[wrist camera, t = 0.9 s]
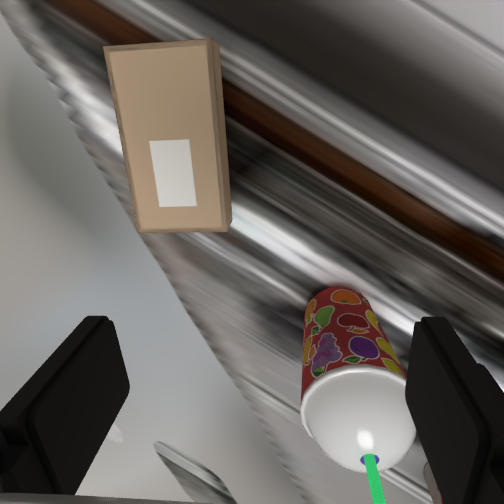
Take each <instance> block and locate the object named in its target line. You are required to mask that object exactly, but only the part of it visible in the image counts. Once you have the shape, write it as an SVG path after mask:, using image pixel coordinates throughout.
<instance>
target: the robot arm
mask: <svg viewBox="0 0 504 504" xmlns="http://www.w3.org/2000/svg"><path fill="white" fill-rule="evenodd" d="M129 389H130V384H129V379H128V376H127V372H126V368H125V364H124V360H123V357H122V353H121V350H120V345H119V341H118V338H117V334H116V330H115V326H114V323H113V321H111V320H109V319H108V317H107V316H87V317H86V318H84V319H83V321H82V322H81V323H80V324H79V325H78V326H77V327H76V328H75V329H74V330H73V332H72V333H71V334H70V335H69V336H68V337H67V338H66V339H65V340H64V342H63V343H62V344H61V345H60V346H59V347H58V348H57V349H56V350H55V352H54V353H53V354H52V355H51V356H50V357H49V358H48V359H47V360H46V361H45V363H44V364H43V365H42V366H41V367H40V368H39V369H38V370H37V371H36V372H35V373H34V375H33V376H32V377H31V378H30V379H29V380H28V381H27V382H26V383H25V384H24V386H23V387H22V388H21V389H20V390H19V391H18V392H17V393H16V394H15V395H14V397H13V398H12V399H11V400H10V401H9V402H8V403H7V404H6V405H5V407H4V408H3V409H2V410H1V411H0V504H213V503H197V502H181V501H165V500H164V501H163V500H148V499H131V498H113V497H96V496H79V495H75V493H76V492H77V490H78V488H79V486H80V484H81V482H82V480H83V479H84V477H85V475H86V473H87V471H88V469H89V467H90V465H91V464H92V462H93V460H94V458H95V456H96V454H97V452H98V450H99V449H100V447H101V445H102V443H103V441H104V439H105V437H106V435H107V434H108V432H109V430H110V428H111V426H112V424H113V422H114V421H115V418H116V417H117V415H118V413H119V411H120V409H121V407H122V405H123V404H124V402H125V400H126V398H127V396H128V393H129ZM405 400H406V404H407V406H408V409H409V412H410V414H411V417H412V420H413V422H414V425H415V428H416V430H417V433H418V436H419V439H420V441H421V444H422V447H423V449H424V452H425V455H426V457H427V460H428V463H429V465H430V468H431V471H432V473H433V476H434V479H435V481H436V484H437V487H438V489H439V492H440V495H441V497H442V500H443V503H444V504H504V392H503V391H502V389H501V388H500V387H499V385H498V384H497V382H496V381H495V380H494V378H493V377H492V375H491V374H490V373H489V371H488V370H487V369H486V368H485V366H484V365H482V364H480V363H477V362H476V361H475V360H474V358H473V357H472V355H471V354H470V352H469V351H468V349H467V348H466V347H465V345H464V344H463V342H462V341H461V339H460V338H459V336H458V335H457V333H456V332H455V331H454V329H453V328H452V326H451V325H450V323H449V322H448V320H447V319H446V318H445V317H422V319H421V322H415V325H414V331H413V338H412V345H411V352H410V359H409V366H408V372H407V379H406V386H405Z"/></svg>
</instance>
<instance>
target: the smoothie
mask: <svg viewBox="0 0 504 504" xmlns="http://www.w3.org/2000/svg"><path fill="white" fill-rule="evenodd" d="M406 379H407V376H406V374H405V372H404V370H403V368H402V366H401V364H400V362H399V360H398V358H397V356H396V355H395V353H394V351H393V349H392V347H391V345H390V343H389V341H388V339H387V337H386V335H385V333H384V331H383V329H382V328H381V326H380V324H379V322H378V320H377V318H376V316H375V314H374V312H373V310H372V308H371V306H370V304H369V302H368V300H366V299H365V298H364V297H363V296H362V295H361V294H360V293H358V292H356V291H354V290H352V289H349V288H345V287H339V286H338V287H329V288H327V289H324V290H322V291H321V292H319V293H318V294H317V295H315V297H313V298H312V299H311V301H310V302H309V304H308V305H307V307H306V311H305V315H304V340H303V365H302V391H301V405H300V414H301V422H302V424H303V425H304V427H305V429H306V431H307V432H308V434H309V435H310V436H311V437H312V438H313V439H314V440H315V441H316V443H317V445H318V446H319V448H320V449H321V450H322V451H323V452H324V454H325V455H327V456H328V457H329V458H330V459H331V460H332V461H334V462H335V463H336V464H338V465H339V466H341V467H344V468H346V469H348V470H350V471H355V472H360V473H367V475H368V480H369V485H370V490H371V494H372V499H373V504H386V503H385V499H384V494H383V490H382V486H381V482H380V477H379V473H378V472H381V471H385V470H387V469H389V468H391V467H393V466H395V465H396V464H397V463H399V462H400V461H401V460H402V459H403V458H404V457H405V456H406V455H407V453H408V451H409V449H410V447H411V445H412V443H413V441H414V439H415V436H416V428H415V425H414V422H413V420H412V417H411V414H410V412H409V409H408V406H407V404H406V400H405V386H406Z"/></svg>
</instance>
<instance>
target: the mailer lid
mask: <svg viewBox="0 0 504 504" xmlns="http://www.w3.org/2000/svg"><path fill="white" fill-rule="evenodd" d="M103 49H104V54H105V60H106V65H107V70H108V75H109V81H110V86H111V91H112V97H113V102H114V107H115V113H116V118H117V123H118V129H119V134H120V139H121V145H122V150H123V155H124V160H125V166H126V171H127V176H128V182H129V187H130V192H131V198H132V203H133V208H134V214H135V219H136V224H137V230H138V233H182V232H227V231H228V229H229V226H230V224H231V222H232V207H231V194H230V181H229V168H228V155H227V142H226V129H225V116H224V103H223V90H222V77H221V64H220V51H219V44H217V43H216V42H215V41H213V40H212V39H198V40H185V41H172V42H158V43H145V44H132V45H119V46H105V47H103Z"/></svg>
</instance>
